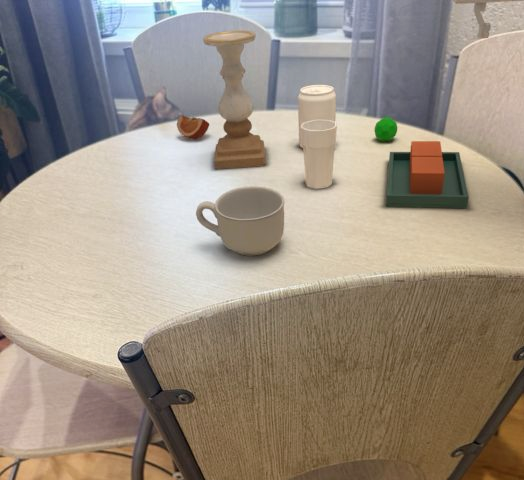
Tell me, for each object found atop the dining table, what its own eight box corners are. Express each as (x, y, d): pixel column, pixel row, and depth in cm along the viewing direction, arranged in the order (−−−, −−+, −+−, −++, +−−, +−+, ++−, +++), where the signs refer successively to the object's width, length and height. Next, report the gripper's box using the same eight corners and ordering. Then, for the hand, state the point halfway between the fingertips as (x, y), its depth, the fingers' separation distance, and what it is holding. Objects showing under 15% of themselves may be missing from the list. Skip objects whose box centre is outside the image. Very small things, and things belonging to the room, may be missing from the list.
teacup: (294, 234, 89) (292, 188, 84) (274, 267, 81) (271, 218, 76) (217, 227, 93) (211, 182, 88) (191, 257, 85) (183, 210, 80)
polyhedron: (373, 144, 119) (374, 121, 116) (374, 136, 123) (375, 115, 120) (395, 144, 118) (398, 121, 115) (396, 136, 122) (398, 114, 119)
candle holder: (264, 148, 122) (256, 28, 107) (266, 165, 114) (258, 37, 98) (216, 151, 122) (202, 32, 107) (214, 169, 114) (199, 42, 99)
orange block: (439, 177, 101) (442, 156, 99) (441, 195, 95) (444, 173, 93) (409, 177, 102) (411, 156, 100) (409, 194, 96) (412, 172, 94)
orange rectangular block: (437, 161, 107) (440, 141, 105) (439, 176, 102) (442, 155, 99) (409, 161, 109) (411, 141, 106) (409, 176, 103) (411, 155, 100)
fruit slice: (173, 138, 132) (169, 117, 128) (192, 131, 135) (189, 110, 132) (197, 144, 127) (194, 122, 124) (216, 136, 131) (214, 114, 128)
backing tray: (457, 162, 108) (459, 152, 107) (466, 208, 92) (468, 197, 90) (389, 161, 111) (389, 151, 109) (385, 206, 94) (386, 195, 93)
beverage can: (336, 151, 117) (337, 92, 110) (299, 153, 118) (298, 95, 110) (333, 139, 124) (334, 83, 116) (298, 141, 124) (297, 85, 116)
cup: (342, 184, 103) (344, 125, 96) (314, 193, 101) (314, 133, 94) (322, 174, 108) (322, 117, 101) (295, 182, 105) (293, 124, 98)
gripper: (621, -91, 70) (587, 29, 79) (459, -79, 74) (444, 35, 83) (636, -90, 66) (599, 38, 74) (462, -77, 70) (446, 43, 78)
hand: (516, 36), depth 79 cm, fingers open, 8 cm apart
